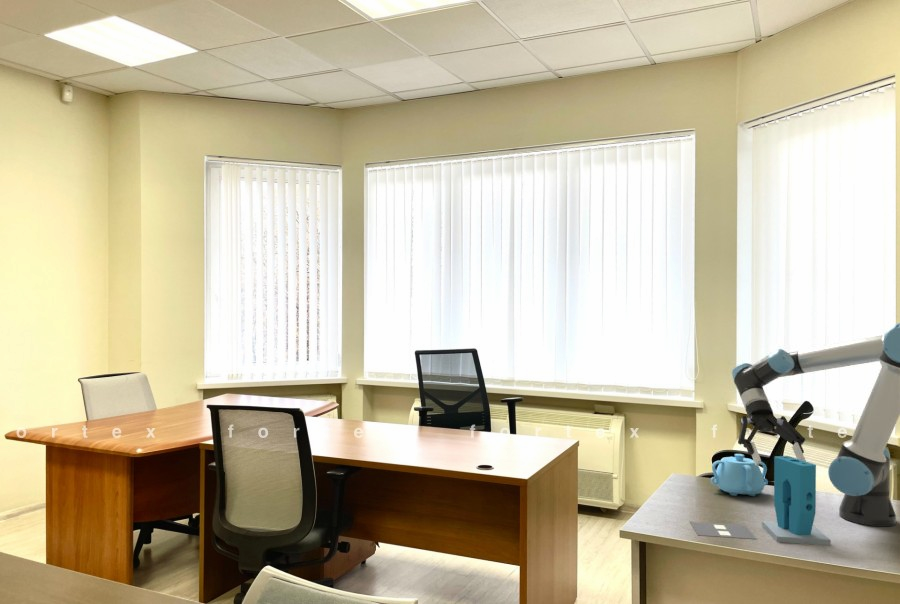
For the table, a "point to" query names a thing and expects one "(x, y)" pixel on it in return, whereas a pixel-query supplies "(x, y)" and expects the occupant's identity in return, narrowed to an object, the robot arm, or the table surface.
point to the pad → (789, 537)
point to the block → (794, 494)
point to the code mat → (722, 530)
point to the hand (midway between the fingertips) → (780, 463)
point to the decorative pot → (739, 475)
